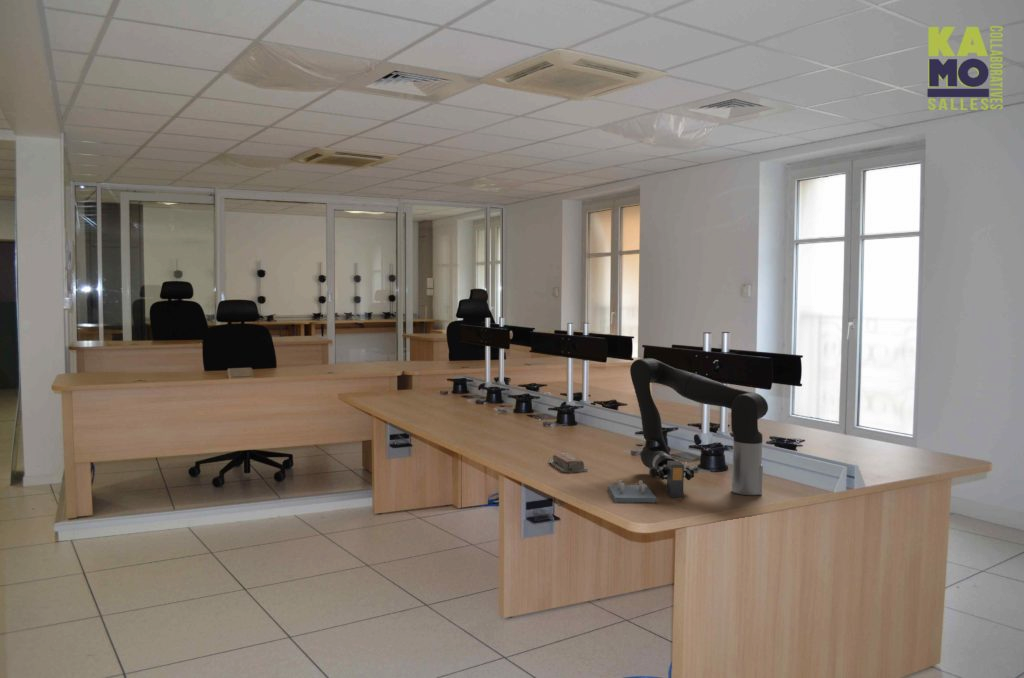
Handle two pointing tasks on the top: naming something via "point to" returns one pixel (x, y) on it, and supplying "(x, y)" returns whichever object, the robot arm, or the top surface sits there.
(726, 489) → the top surface
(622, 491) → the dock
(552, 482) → the top surface
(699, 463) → the top surface
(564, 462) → the packaged product
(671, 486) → the block
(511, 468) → the top surface
